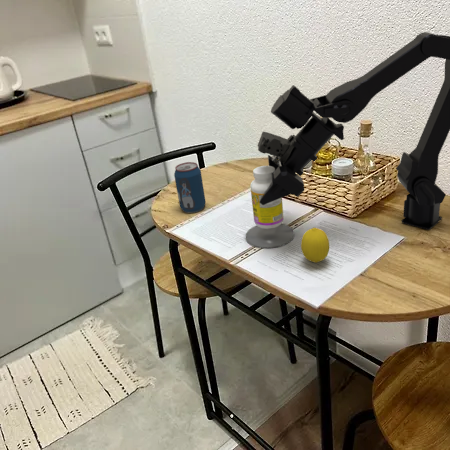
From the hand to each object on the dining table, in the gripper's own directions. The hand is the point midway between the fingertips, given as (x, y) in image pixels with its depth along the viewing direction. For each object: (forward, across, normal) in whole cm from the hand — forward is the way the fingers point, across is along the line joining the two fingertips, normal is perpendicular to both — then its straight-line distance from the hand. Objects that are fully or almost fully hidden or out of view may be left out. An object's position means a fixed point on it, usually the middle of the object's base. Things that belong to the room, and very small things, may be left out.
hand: (260, 196), depth 103 cm
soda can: (+20, -19, -6) cm, 28 cm away
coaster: (+6, 0, +8) cm, 10 cm away
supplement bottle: (+4, 0, +6) cm, 7 cm away
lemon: (0, +13, +14) cm, 19 cm away
